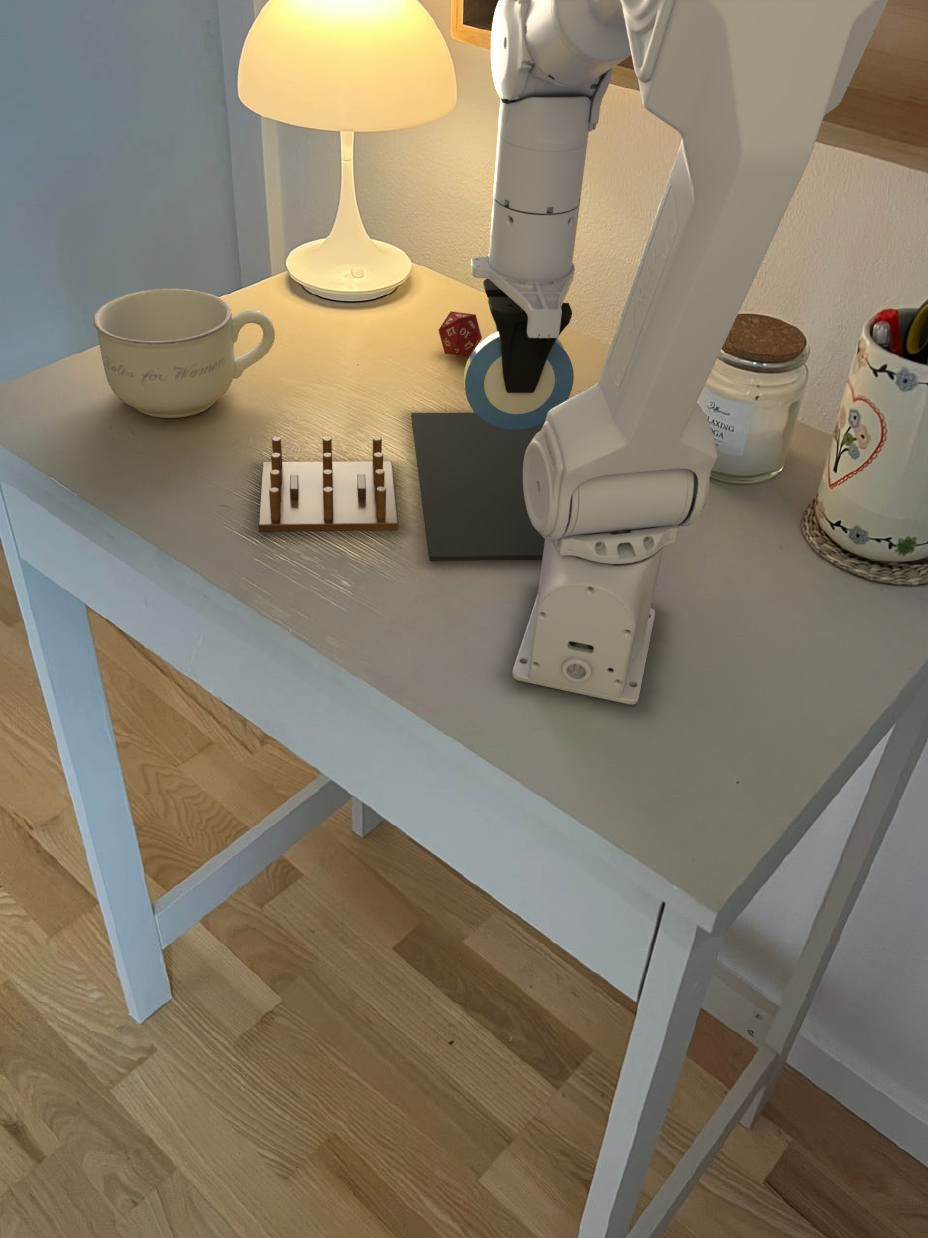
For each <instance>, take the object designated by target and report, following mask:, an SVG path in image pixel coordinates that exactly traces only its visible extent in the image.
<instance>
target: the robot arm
mask: <svg viewBox="0 0 928 1238" xmlns="http://www.w3.org/2000/svg"><path fill="white" fill-rule="evenodd" d="M888 2H889V0H498V1H497V4H496V7H495V10H494V14H493V19H492V25H491V35H490V62H491V63H490V64H491V73H492V80H493V84H494V88H495V91H496V93H497V95H498V97H499V98H500V102H499V114H498V126H497V127H498V128H497V141H496V156H495V167H494V181H493V192H492V193H493V194H492V195H493V197H492V209H491V222H490V223H491V224H490V236H489V249H488V250H489V251H488V254H487V255H486V256H474V257H472V258H471V259H470V271H471V275H472V277H473V278H476V279H484V280H483V283H482V285H483V288H484V292H485V295H486V297H487V303H488V307H489V311H490V314H491V317H492V319H493V322H494V323H495V329H496V332H497V331H499V336H500V343H501V353H502V369H503V378H504V383H505V388H506V391H507V392H508V393H533V392H534V391H535V389H536V387H537V385H538V382H539V380H540V377H541V374H542V371H543V368H544V366H545V363H546V360H547V358H548V355H549V353H550V351H551V348H552V346H553V345H554V343H555V341H556V340H557V339H559V337H560V335H561V334H562V333H563V331H564V330H565V329H566V328H567V327H568V325H569V324H570V323H571V319H572V317H573V311H572V307H571V305H570V303H569V302H564V301H565V299H566V297H567V294H568V293H569V290H570V288H571V286H572V283H573V282H574V278H575V271H576V270H575V269H576V268H575V264H574V263H573V261H574V254H575V245H576V239H577V238H576V237H577V229H578V223H579V222H578V221H579V215H580V206H581V197H582V189H583V181H584V175H585V174H584V173H585V165H586V158H587V150H588V143H589V133H590V132H592V131H595V130H596V128H597V124H599V120H600V119H599V118H600V112H601V106H602V101H603V98H604V96H605V94H606V92H607V90H608V88H609V85H610V82H611V80H612V75H613V70H614V67H616V66H618V65H619V64H620V63H621V62H623V61H625V60H626V59H628V58H629V57H630V56H631V59H632V64H633V69H634V73H635V76H636V77H637V82H638V86H639V91H640V97H641V103H642V106H643V108H644V110H645V111H648V113H651V114H652V115H653V116H655V117H656V118H657V119H659V120H661V121H662V122H664V123H665V124H667V125H668V126H670V127H671V128H672V129H673V130H676V132H678V133H679V134H680V136H681V139H680V144H679V147H678V149H677V153H676V155H675V158H674V162H673V164H672V166H671V170H670V172H669V176H668V178H667V181H666V184H665V187H664V189H663V193H662V195H661V198H660V201H659V204H658V208H657V211H656V213H655V216H654V219H653V221H652V225H651V227H650V230H649V233H648V236H647V239H646V242H645V244H644V248H643V251H642V253H641V257H640V259H639V262H638V265H637V268H636V272H635V274H634V276H633V280H632V282H631V286H630V288H629V291H628V294H627V296H626V300H625V303H624V305H623V307H622V311H621V314H620V317H619V319H618V323H617V326H616V329H615V332H614V335H613V338H612V340H611V343H610V346H609V349H608V352H607V355H606V356H605V357H606V358H605V359H604V360H605V361H604V364H603V366H602V369H601V372H600V375H599V377H598V380H597V383H594V385H592V386H591V387H588V388H587V389H585V390H584V391H581V392H579V393H578V394H576V395H574V396H572V397H570V398H568V400H567V401H565V402H563V403H561V404H560V405H558V406H556V407H554V408H553V409H551V410H550V411H549V412H548V414H547V417H546V420H545V423H544V425H543V427H542V430H541V431H540V432H538V433H537V434H536V435H535V436H534V437H533V439H532V441H531V443H530V444H529V445H528V447H527V449H526V452H525V456H524V462H523V490H524V498H525V504H526V508H527V512H528V515H529V518H530V521H531V523H532V525H533V526H534V528H535V529H536V530H537V531H538V532H539V533H540V534H541V535H542V537H544V538H545V543H544V551H543V559H541V568H540V576H539V581H538V582H539V583H538V591H537V594H536V598H535V600H534V604H533V608H532V610H531V613H530V616H529V619H528V622H527V625H526V628H525V631H524V634H523V637H522V641H521V642H520V643H521V644H520V647H519V648H518V649H519V650H518V651H517V652H518V653H517V655H516V659H515V661H514V665H513V667H512V671H511V676H512V679H514V680H515V681H519V682H523V683H527V684H533V685H537V686H542V687H546V688H551V689H556V690H561V691H565V692H570V693H574V694H579V695H584V696H589V697H592V698H598V699H602V700H606V701H612V702H615V703H616V702H617V703H621V704H626V705H632V706H633V705H636V704H637V703H638V702H639V698H640V694H641V688H642V683H643V678H644V673H645V668H646V663H647V658H648V652H649V647H650V642H651V637H652V632H653V626H654V622H655V617H656V610H655V609H654V608H652V604H653V598H654V594H655V589H656V584H657V580H658V575H659V570H660V566H661V561H662V557H663V552H664V547H666V546H668V545H674V544H676V542H677V539H678V534H679V529H680V527H688V526H689V527H690V526H692V525H693V524H694V523H695V522H697V520H698V519H699V517H700V515H701V513H702V511H703V509H704V507H705V505H706V503H707V500H708V496H709V491H710V483H711V481H710V478H711V475H712V470H713V468H714V465H715V463H716V461H717V460H718V451H717V445H716V441H715V436H714V434H713V431H712V427H711V425H710V422H709V420H708V418H707V416H706V413H705V412H704V410H703V408H702V407H701V406H700V404H699V403H698V401H699V399H700V397H701V394H702V392H703V390H704V388H705V386H706V383H707V381H708V379H709V377H710V375H711V373H712V371H713V369H714V366H715V364H716V362H717V360H718V357H719V355H720V353H721V351H722V350H723V347H724V345H725V343H726V341H727V338H728V336H729V334H730V331H731V329H732V327H733V325H734V323H735V321H736V319H737V317H738V314H739V313H740V310H741V308H742V306H743V304H744V302H745V300H746V298H747V295H748V293H749V291H750V289H751V287H752V284H753V282H754V280H755V278H756V276H757V274H758V272H759V270H760V268H761V265H762V263H763V261H764V259H765V257H766V254H767V252H768V250H769V248H770V246H771V244H772V243H773V240H774V237H775V235H776V233H777V231H778V229H779V226H780V224H781V222H782V220H783V217H784V216H785V214H786V211H787V209H788V208H789V205H790V203H791V200H792V199H793V197H794V194H795V192H796V190H797V188H798V186H799V183H800V181H801V179H802V177H803V175H804V173H805V171H806V168H807V166H808V163H809V161H810V159H811V156H812V153H813V150H814V148H815V145H816V141H817V138H818V135H819V132H820V129H821V126H822V123H823V120H824V117H825V116H827V115H828V114H829V113H830V112H831V111H832V110H834V109H835V108H837V107H838V106H839V105H840V104H841V102H842V100H843V98H844V96H845V94H846V92H847V90H848V87H849V85H850V83H851V81H852V79H853V76H854V74H855V73H856V70H857V68H858V66H859V64H860V62H861V60H862V57H863V55H864V54H865V51H866V49H867V47H868V45H869V42H870V41H871V38H872V36H873V34H874V32H875V29H876V28H877V26H878V24H879V22H880V19H881V17H882V16H883V13H884V10H885V8H886V6H887V4H888Z"/></svg>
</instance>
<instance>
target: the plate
mask: <svg viewBox="0 0 928 1238" xmlns="http://www.w3.org/2000/svg"><path fill="white" fill-rule="evenodd" d="M574 374H575V373H574V367H573V363H572V360H571V357H570V354H569V352H568V350H567V349H566V346H565V345H564V344H563V343H562V342H561V340H560V339H559V338H557V340H556V341H555V343H554V345H553V346H552V348H551V351H550V353H549V355H548V358H547V360H546V363H545V366H544V368H543V371H542V374H541V377H540V380H539V382H538V385H537V387H536V389H535V391H534V392H533V393H508V392H507V391H506V388H505V383H504V378H503V369H502V353H501V343H500V336H499V331H497V330H496V331H495V332H492V333H491V334H490V335H488V336H486V337H485V338H484V339H483V340H481V341H480V342H479V344H478V345H477V347H476V348H475V349H474V350H473V352H472V353H471V355H470V357H468V359H467V361H466V363H465V367H464V372H463V388H464V392H465V397H466V400H467V402H468V404H469V407H470V408H471V409H472V411H473V413H476V414H477V415H478V416H479V417H480V418H481V419H482V420H484V421H485V422H487V423H488V424H490V425H492V426H495V427H498V428H501V429H507V430H523V429H528V428H532V427H535V426H538V425H540V424H542V423H544V422H545V420H546V417H547V414H548V412H549V411H550V410H551V409H553V408H554V407H556V406H558V405H560V404H561V403H563V402H565V401H567V400H568V399H570V398H569V397H570V396H571V393H572V390H573V387H574V380H575V375H574Z"/></svg>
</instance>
